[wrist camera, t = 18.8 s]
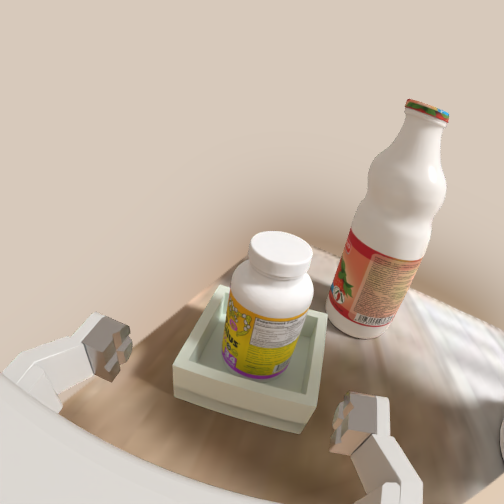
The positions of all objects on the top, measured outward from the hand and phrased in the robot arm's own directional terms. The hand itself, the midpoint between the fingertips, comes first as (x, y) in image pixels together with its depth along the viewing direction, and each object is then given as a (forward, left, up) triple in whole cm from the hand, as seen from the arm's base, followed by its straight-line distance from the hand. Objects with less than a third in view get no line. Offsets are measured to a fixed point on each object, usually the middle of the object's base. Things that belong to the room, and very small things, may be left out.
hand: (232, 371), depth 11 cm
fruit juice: (-11, -27, -17) cm, 34 cm away
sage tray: (0, -14, -17) cm, 22 cm away
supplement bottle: (0, -14, -15) cm, 21 cm away
